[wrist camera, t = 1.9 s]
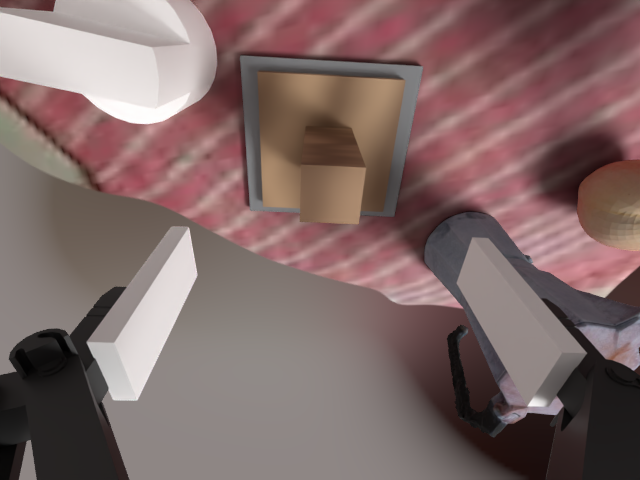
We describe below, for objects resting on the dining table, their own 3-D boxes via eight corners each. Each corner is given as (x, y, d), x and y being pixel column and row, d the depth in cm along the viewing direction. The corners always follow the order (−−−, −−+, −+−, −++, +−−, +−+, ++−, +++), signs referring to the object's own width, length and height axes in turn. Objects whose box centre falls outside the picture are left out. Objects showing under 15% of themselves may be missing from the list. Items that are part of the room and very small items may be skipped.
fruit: (659, 150, 32) (751, 182, 25) (616, 223, 36) (685, 267, 29) (578, 146, 32) (649, 178, 25) (544, 220, 36) (597, 264, 29)
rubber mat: (421, 65, 28) (423, 66, 27) (393, 214, 35) (394, 216, 35) (241, 55, 27) (239, 55, 27) (251, 207, 35) (250, 210, 34)
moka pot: (545, 216, 36) (753, 383, 19) (445, 307, 42) (531, 490, 26) (481, 172, 33) (656, 320, 16) (386, 277, 40) (438, 459, 23)
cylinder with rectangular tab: (110, 96, 29) (-3, 130, 19) (95, -34, 24) (-65, -82, 14) (215, 118, 30) (162, 162, 20) (220, -2, 25) (154, -26, 15)
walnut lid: (403, 78, 28) (446, 101, 18) (381, 207, 34) (405, 273, 25) (259, 70, 27) (229, 89, 18) (264, 202, 34) (244, 267, 24)
